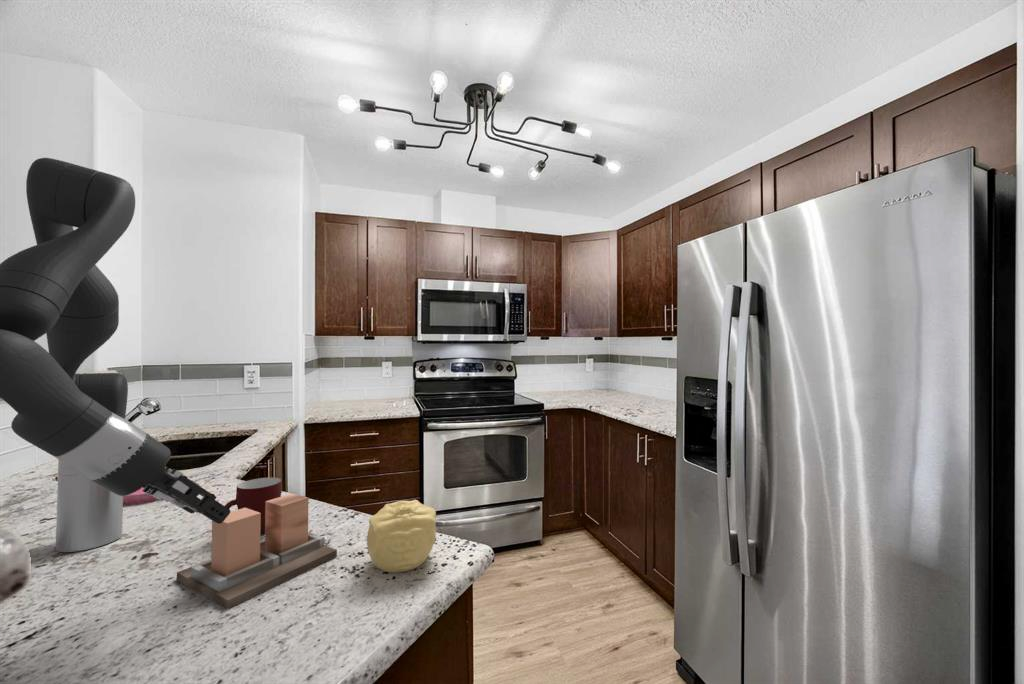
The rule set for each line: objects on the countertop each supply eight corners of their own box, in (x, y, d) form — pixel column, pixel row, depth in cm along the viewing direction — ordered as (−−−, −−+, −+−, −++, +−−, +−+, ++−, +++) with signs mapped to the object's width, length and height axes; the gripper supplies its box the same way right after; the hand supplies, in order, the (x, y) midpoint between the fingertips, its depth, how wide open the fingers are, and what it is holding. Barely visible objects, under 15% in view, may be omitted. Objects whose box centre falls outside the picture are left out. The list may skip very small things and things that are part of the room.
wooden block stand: (176, 579, 67) (178, 516, 68) (284, 538, 83) (285, 486, 83) (227, 609, 59) (229, 536, 60) (336, 556, 75) (337, 499, 75)
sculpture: (370, 588, 65) (370, 517, 65) (364, 555, 76) (364, 495, 76) (442, 572, 69) (442, 506, 70) (427, 543, 80) (427, 486, 81)
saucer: (189, 492, 113) (190, 480, 113) (139, 508, 101) (139, 495, 101) (154, 489, 116) (154, 478, 116) (101, 504, 104) (101, 492, 104)
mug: (229, 548, 79) (230, 494, 79) (215, 537, 84) (216, 487, 84) (287, 530, 87) (288, 481, 87) (271, 520, 92) (272, 475, 92)
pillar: (211, 573, 67) (212, 517, 67) (244, 560, 71) (245, 507, 72) (226, 582, 64) (227, 523, 65) (259, 568, 69) (260, 512, 69)
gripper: (164, 434, 54) (254, 497, 64) (121, 426, 61) (207, 484, 71) (109, 486, 49) (214, 546, 59) (69, 471, 57) (169, 526, 66)
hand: (210, 512), depth 65 cm, fingers open, 8 cm apart
